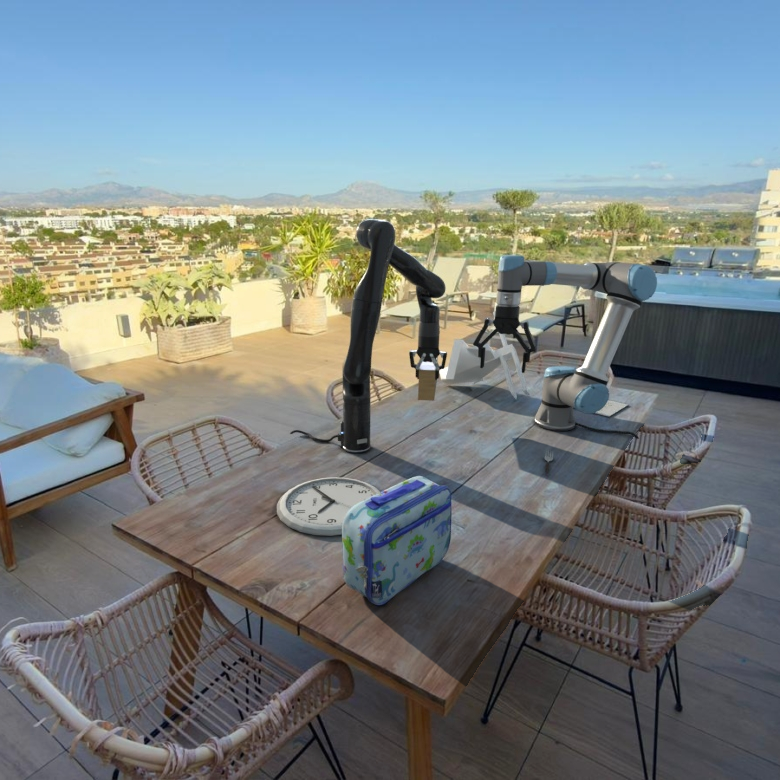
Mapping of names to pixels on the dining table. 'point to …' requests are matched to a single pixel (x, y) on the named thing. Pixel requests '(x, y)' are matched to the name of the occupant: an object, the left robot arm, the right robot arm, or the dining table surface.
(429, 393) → the box
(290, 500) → the wall clock
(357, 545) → the lunch box
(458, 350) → the white plastic object
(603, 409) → the invitation card
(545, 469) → the fork
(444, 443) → the dining table surface
